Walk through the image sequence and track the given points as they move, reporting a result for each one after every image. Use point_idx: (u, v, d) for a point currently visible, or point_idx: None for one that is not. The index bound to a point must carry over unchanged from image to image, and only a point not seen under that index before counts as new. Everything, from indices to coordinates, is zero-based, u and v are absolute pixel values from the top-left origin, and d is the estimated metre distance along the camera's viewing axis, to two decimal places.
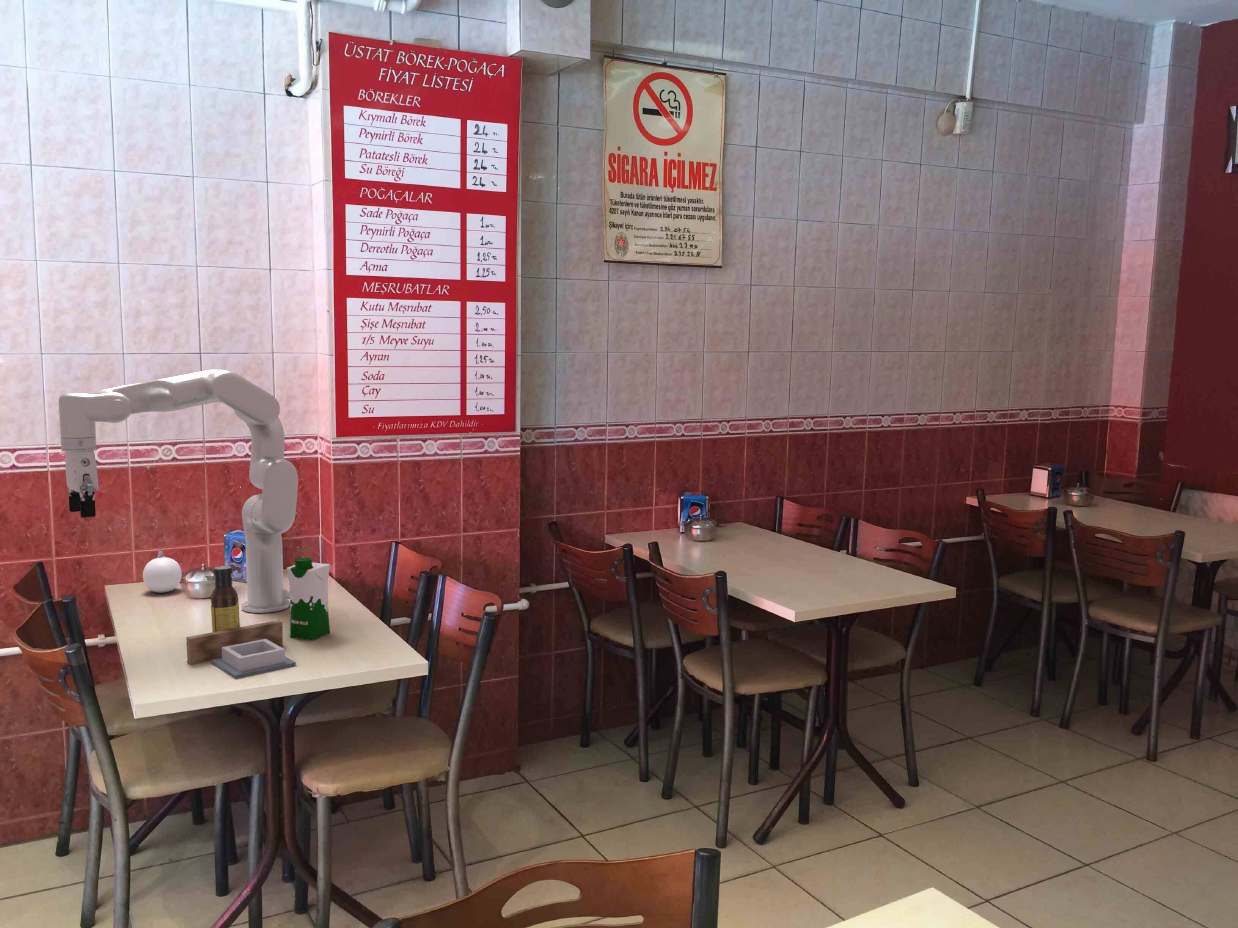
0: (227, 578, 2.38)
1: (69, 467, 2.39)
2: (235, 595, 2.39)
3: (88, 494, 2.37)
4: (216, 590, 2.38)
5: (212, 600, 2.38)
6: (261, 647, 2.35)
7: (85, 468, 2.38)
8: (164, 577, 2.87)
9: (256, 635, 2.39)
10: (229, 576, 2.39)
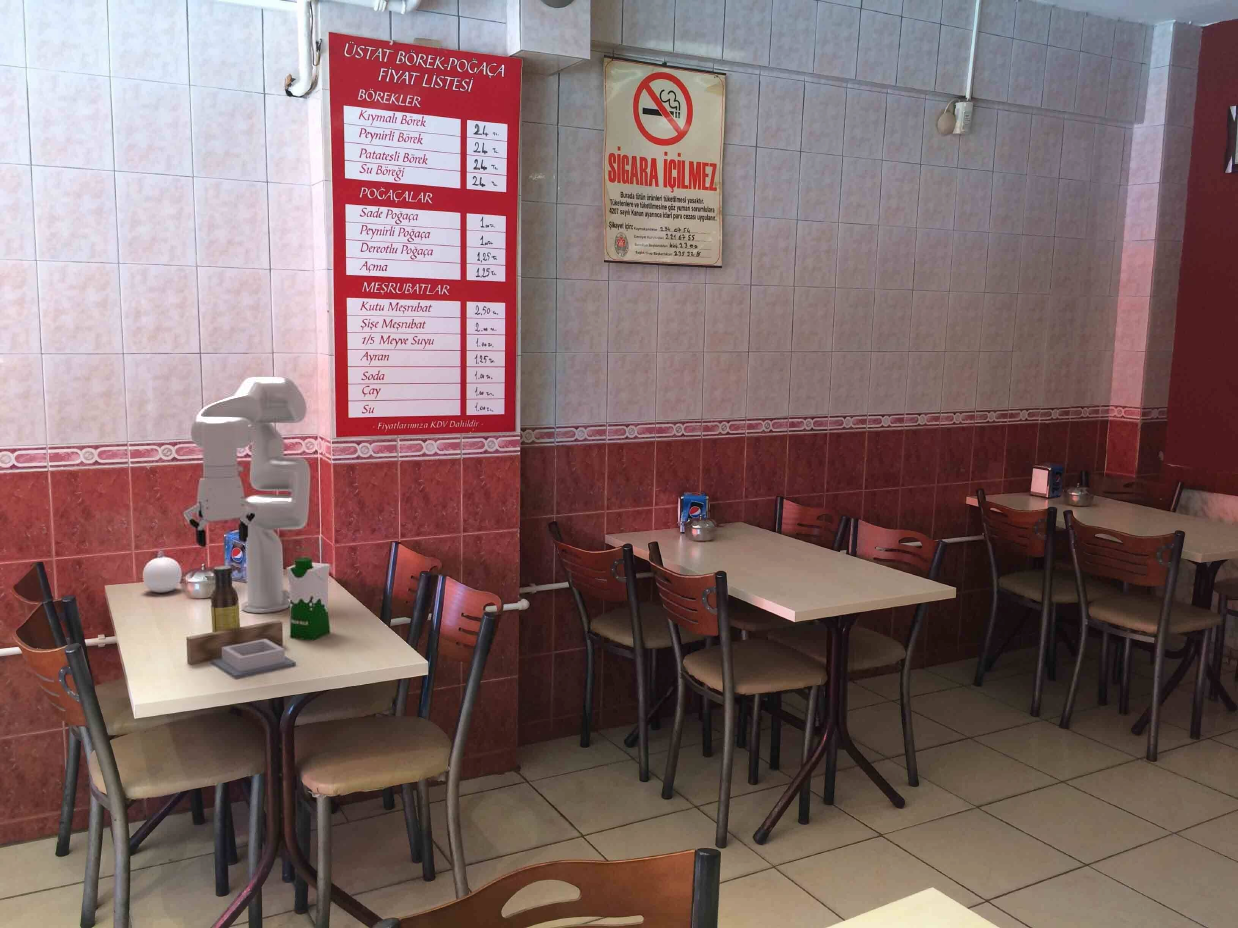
0: (227, 578, 2.38)
1: (228, 495, 2.35)
2: (235, 595, 2.39)
3: None
4: (216, 590, 2.38)
5: (212, 600, 2.38)
6: (261, 647, 2.35)
7: None
8: (164, 577, 2.87)
9: (256, 635, 2.39)
10: (229, 576, 2.39)
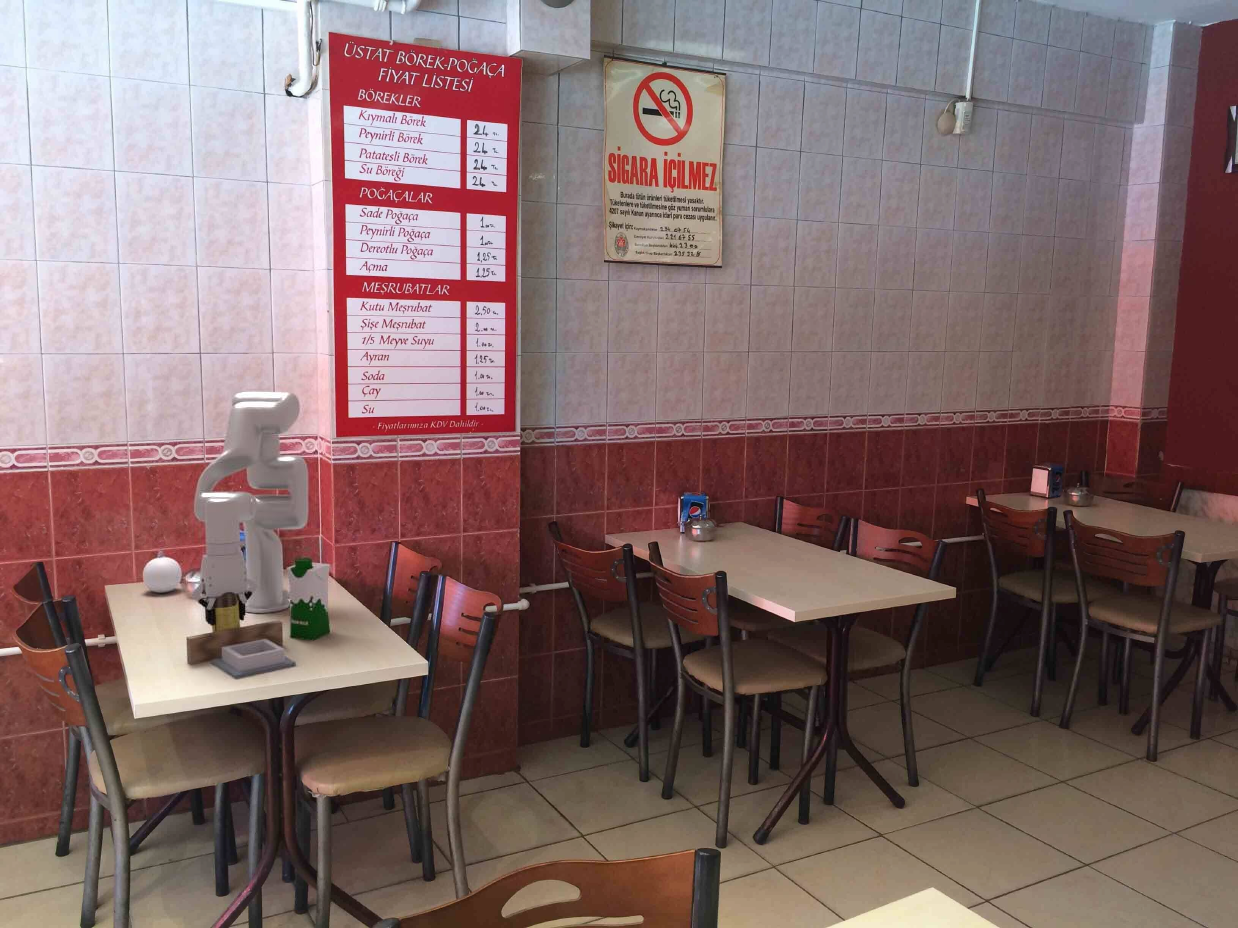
0: None
1: (231, 572, 2.37)
2: (235, 595, 2.39)
3: None
4: None
5: None
6: (261, 647, 2.35)
7: None
8: (164, 577, 2.87)
9: (256, 635, 2.39)
10: None
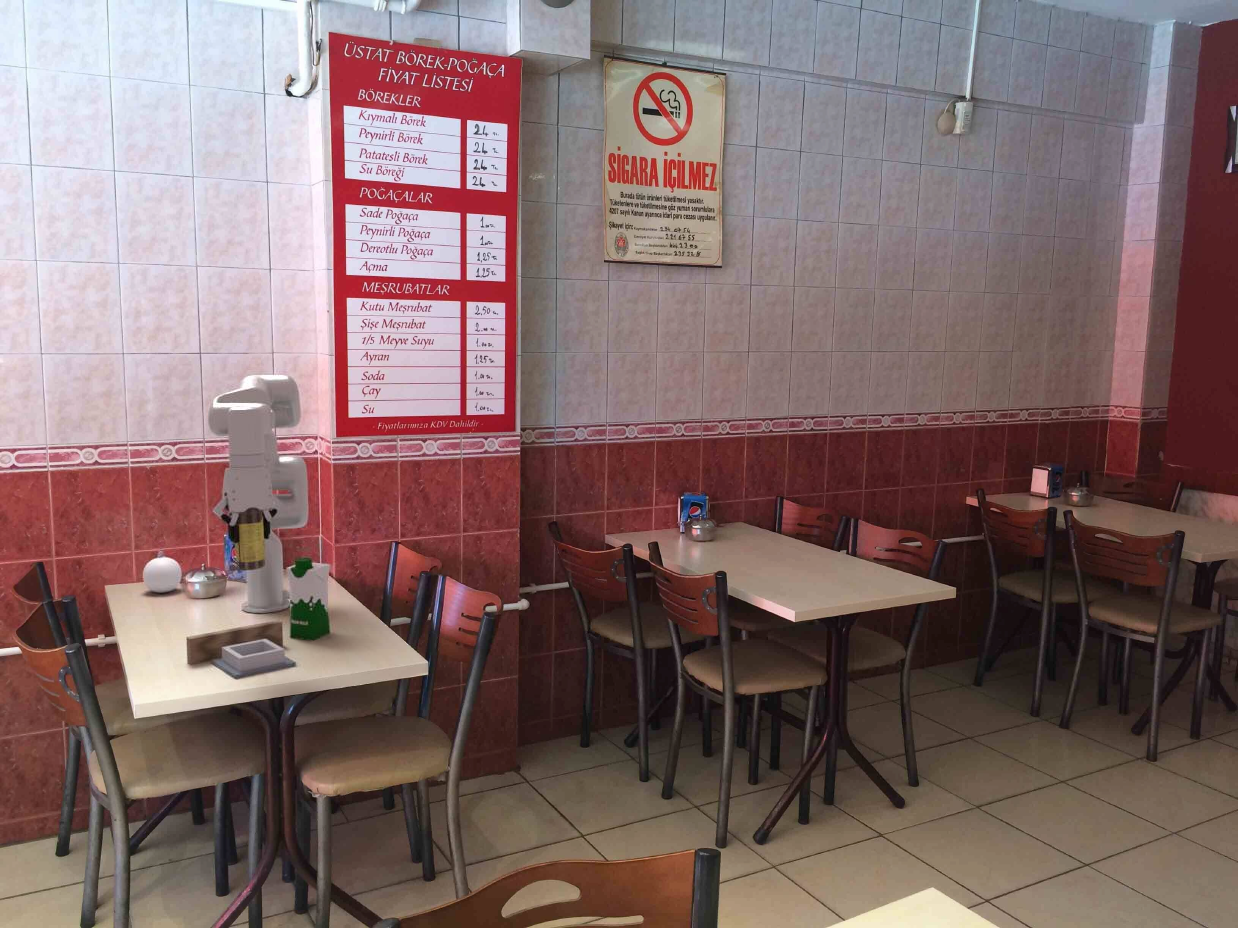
0: None
1: (255, 486, 2.23)
2: (260, 511, 2.25)
3: None
4: None
5: None
6: (261, 647, 2.35)
7: None
8: (164, 577, 2.87)
9: (256, 635, 2.39)
10: None
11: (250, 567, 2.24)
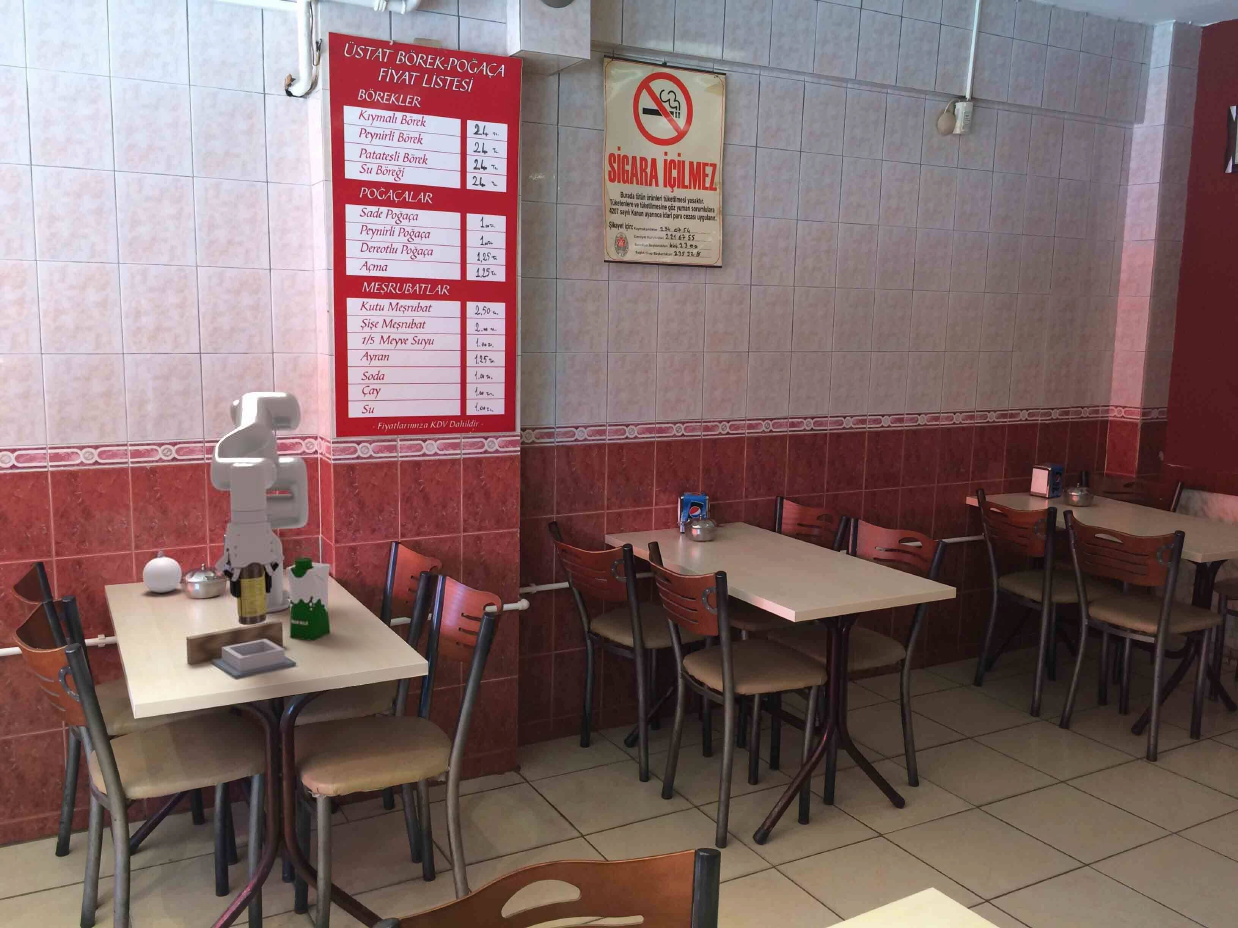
0: None
1: (257, 541, 2.25)
2: (261, 566, 2.26)
3: None
4: None
5: None
6: (261, 647, 2.35)
7: None
8: (164, 577, 2.87)
9: (256, 635, 2.39)
10: None
11: (252, 622, 2.25)
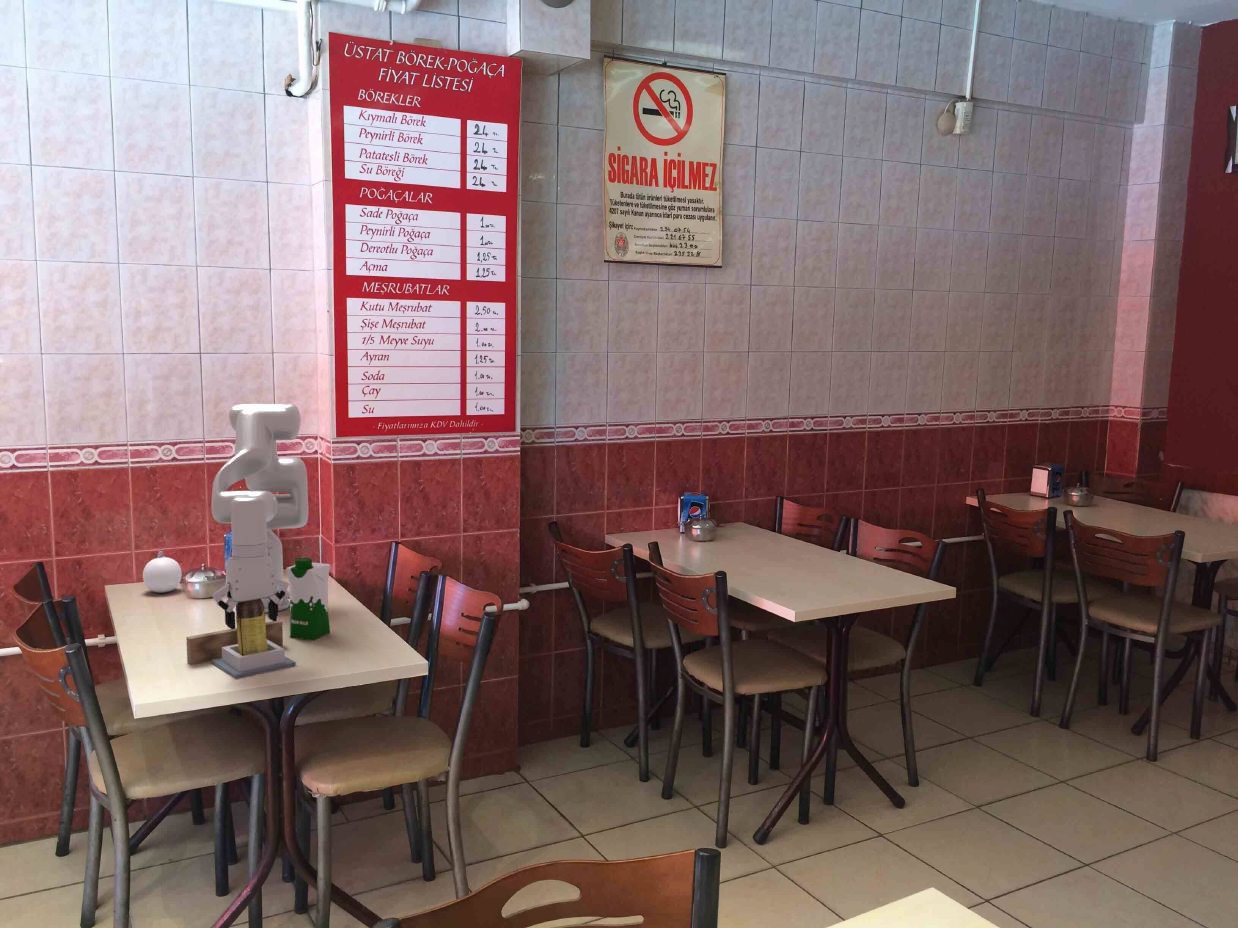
0: None
1: (258, 575, 2.25)
2: (261, 605, 2.28)
3: None
4: None
5: (237, 610, 2.26)
6: None
7: None
8: (164, 577, 2.87)
9: None
10: None
11: None
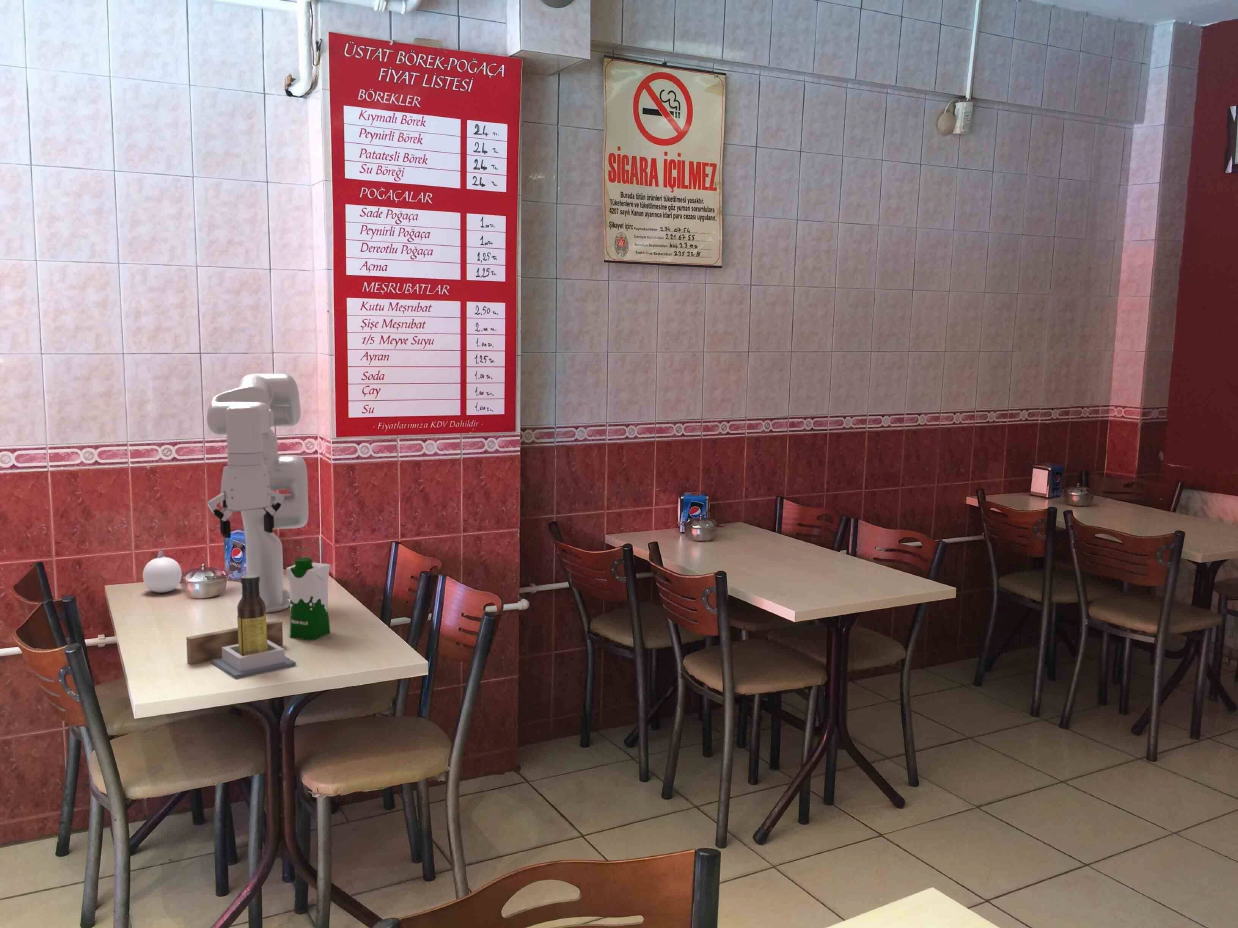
0: (255, 587, 2.27)
1: (253, 484, 2.24)
2: (263, 605, 2.28)
3: None
4: (243, 600, 2.26)
5: (239, 610, 2.26)
6: None
7: None
8: (164, 577, 2.87)
9: None
10: (257, 585, 2.27)
11: None
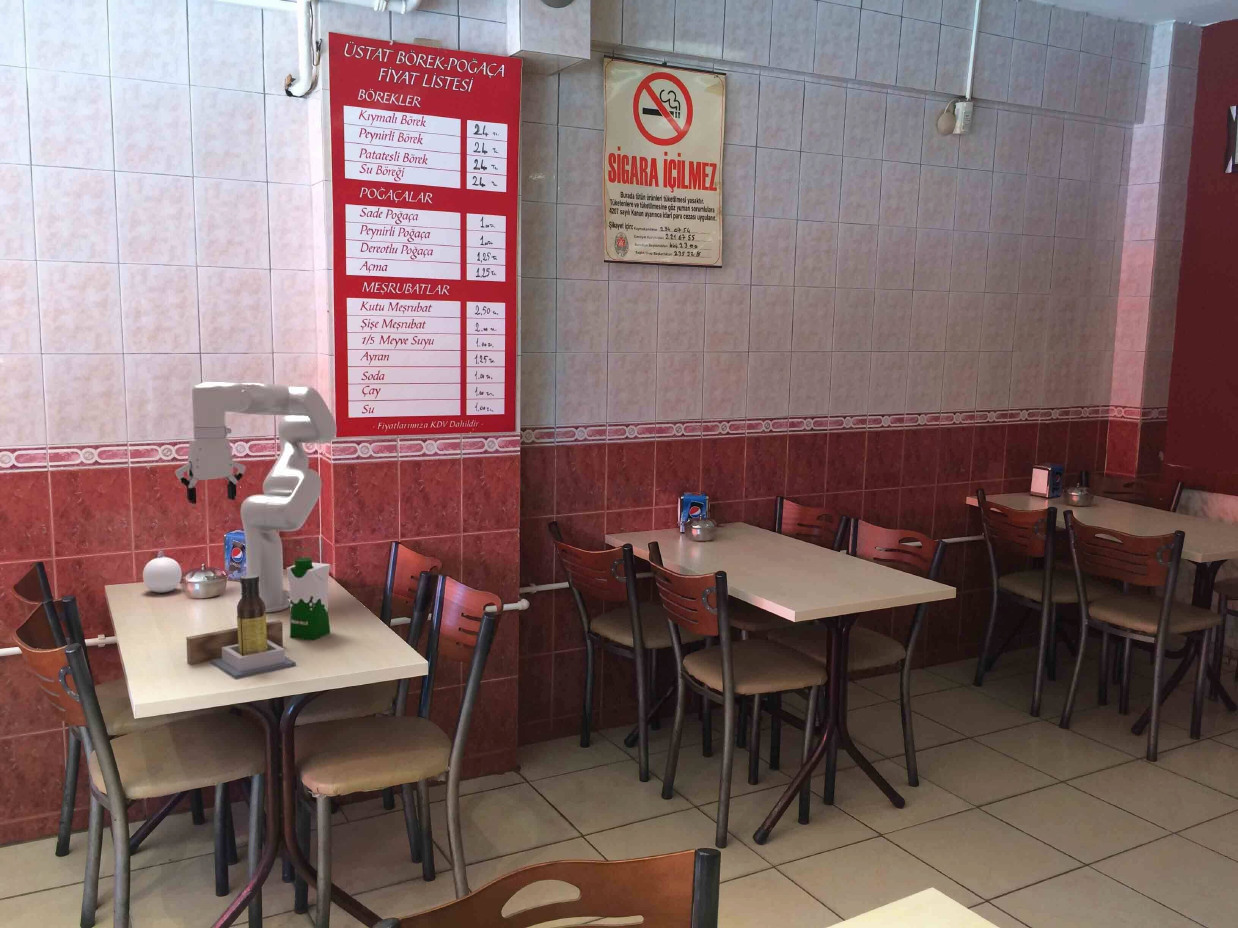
0: (255, 587, 2.26)
1: (217, 455, 2.49)
2: (262, 605, 2.28)
3: None
4: (242, 600, 2.26)
5: (238, 611, 2.26)
6: None
7: None
8: (164, 577, 2.87)
9: None
10: (256, 585, 2.27)
11: None
